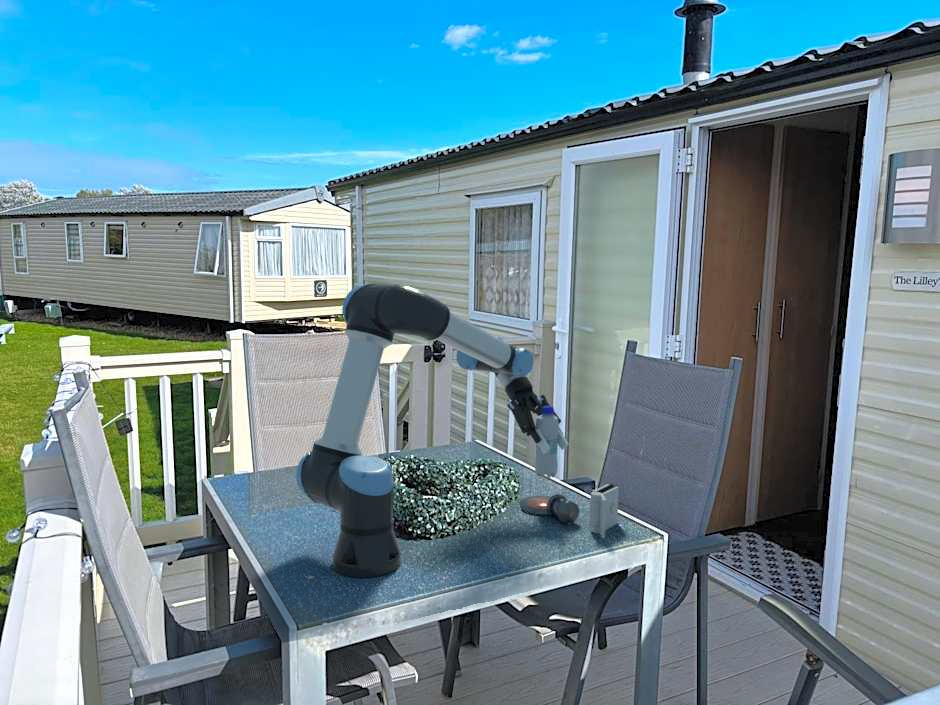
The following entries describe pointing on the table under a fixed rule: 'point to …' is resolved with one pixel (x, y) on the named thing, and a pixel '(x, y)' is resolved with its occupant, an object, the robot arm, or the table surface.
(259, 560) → the table surface
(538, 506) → the fitting
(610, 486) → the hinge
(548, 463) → the bottle
